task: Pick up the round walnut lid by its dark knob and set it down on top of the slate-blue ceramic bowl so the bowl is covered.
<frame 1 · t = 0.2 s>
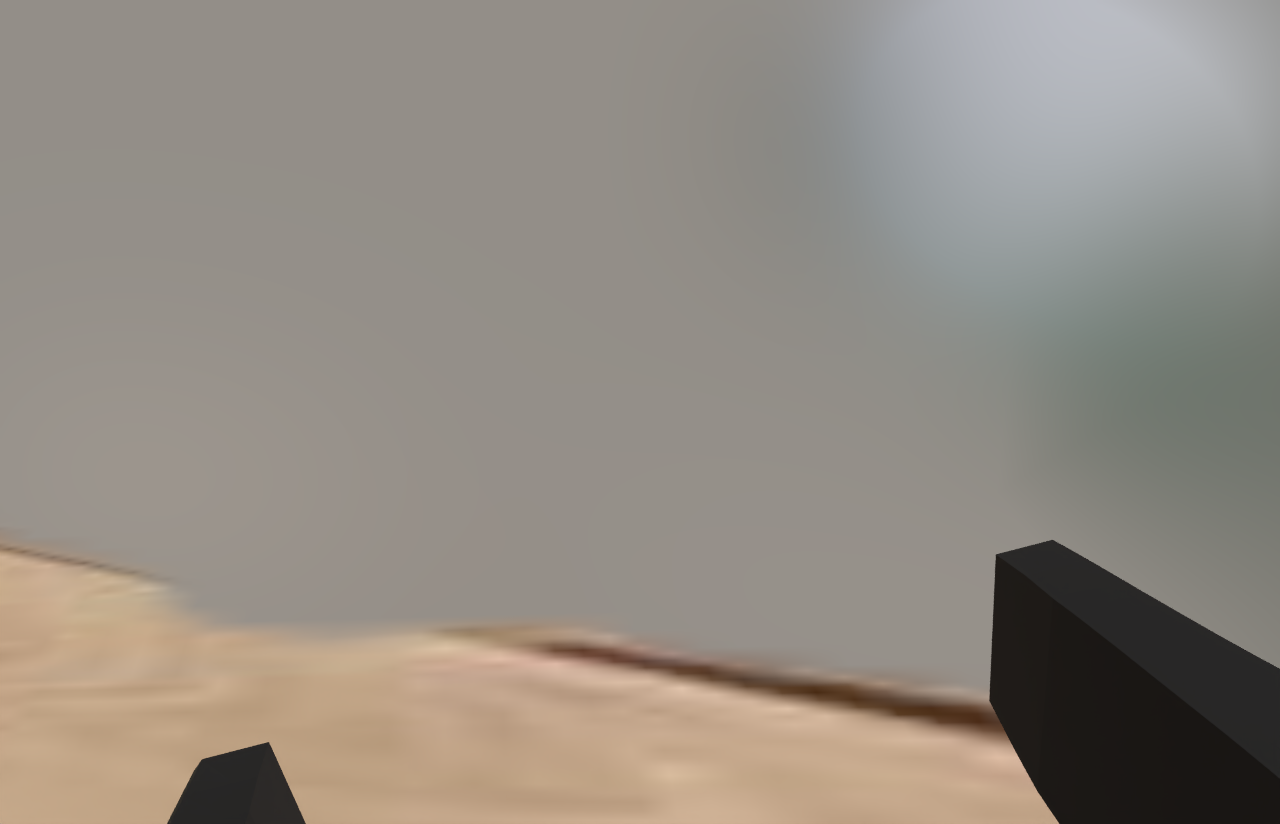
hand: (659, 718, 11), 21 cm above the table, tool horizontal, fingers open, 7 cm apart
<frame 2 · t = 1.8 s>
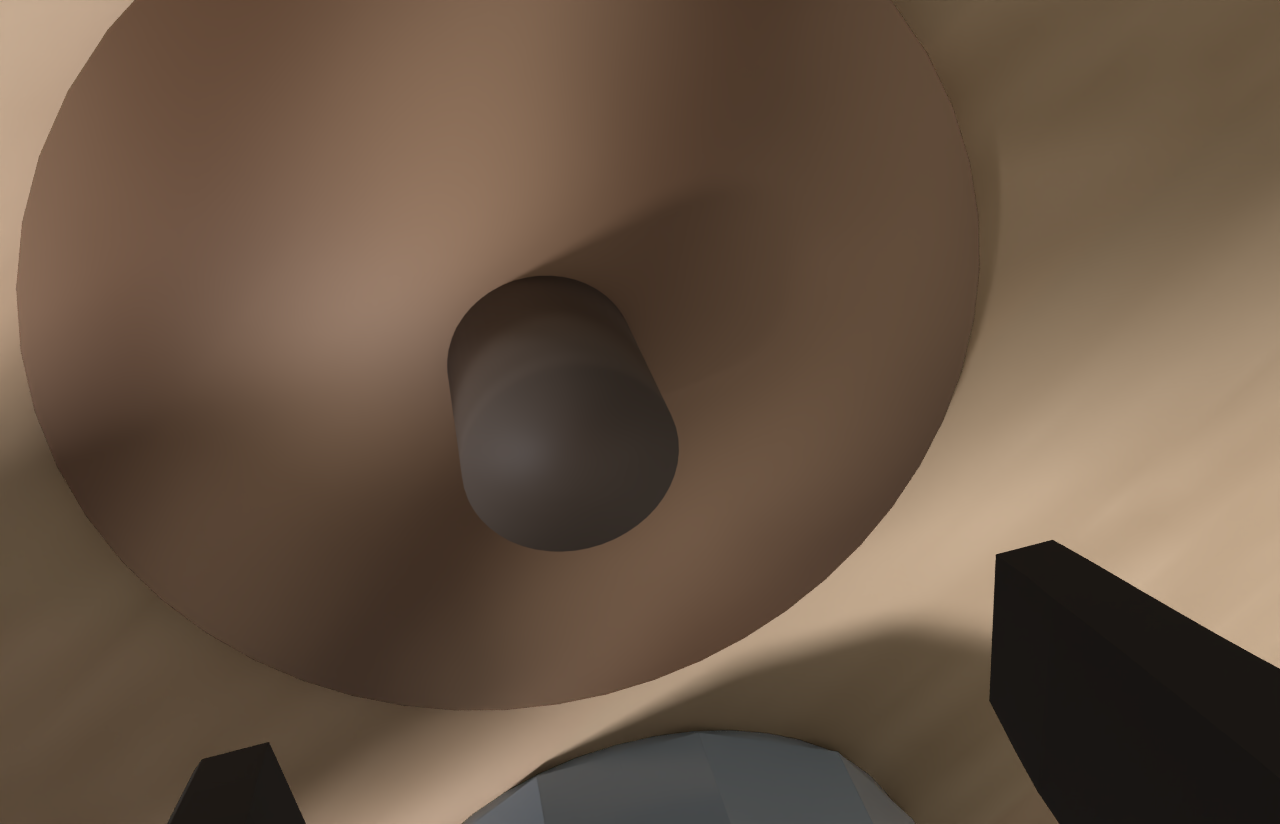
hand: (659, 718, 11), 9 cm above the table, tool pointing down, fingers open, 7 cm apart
lid: (533, 335, 18), on the table
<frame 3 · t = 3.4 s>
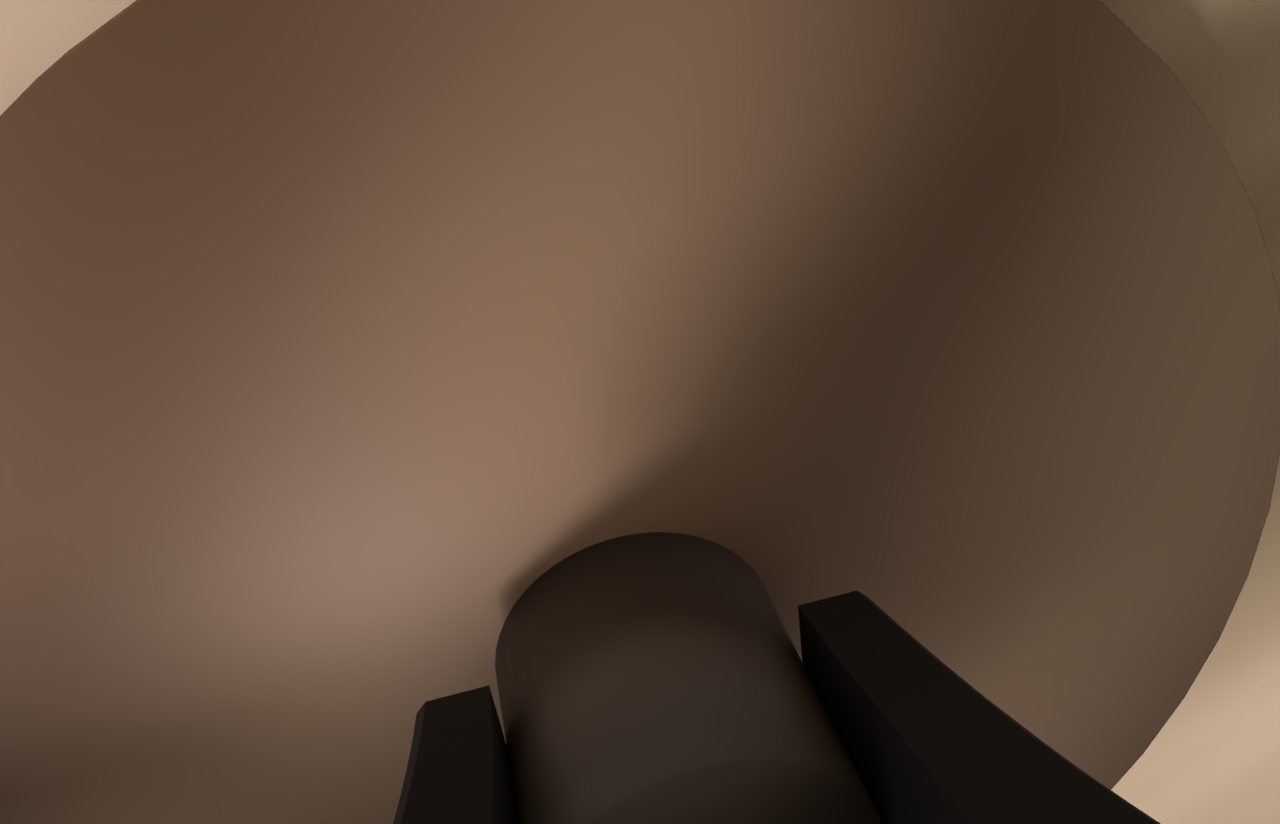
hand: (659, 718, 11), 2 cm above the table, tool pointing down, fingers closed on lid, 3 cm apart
lid: (618, 589, 12), on the table, touching gripper
when the fingers open (8 cm above the table, at t = 6.4 s): lid drops 1 cm, resting on bowl.
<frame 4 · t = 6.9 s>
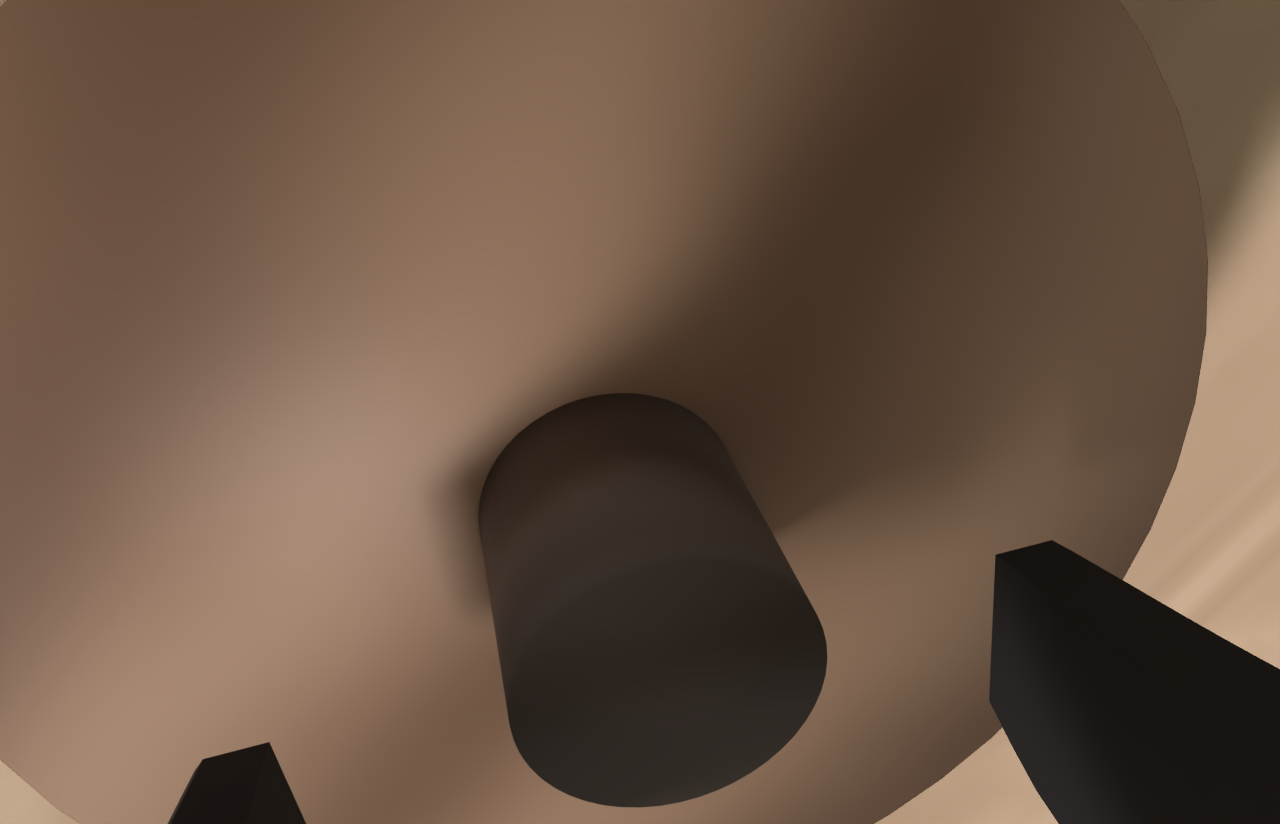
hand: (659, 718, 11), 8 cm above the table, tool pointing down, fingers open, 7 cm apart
lid: (594, 462, 13), point 5 cm above the table, touching bowl
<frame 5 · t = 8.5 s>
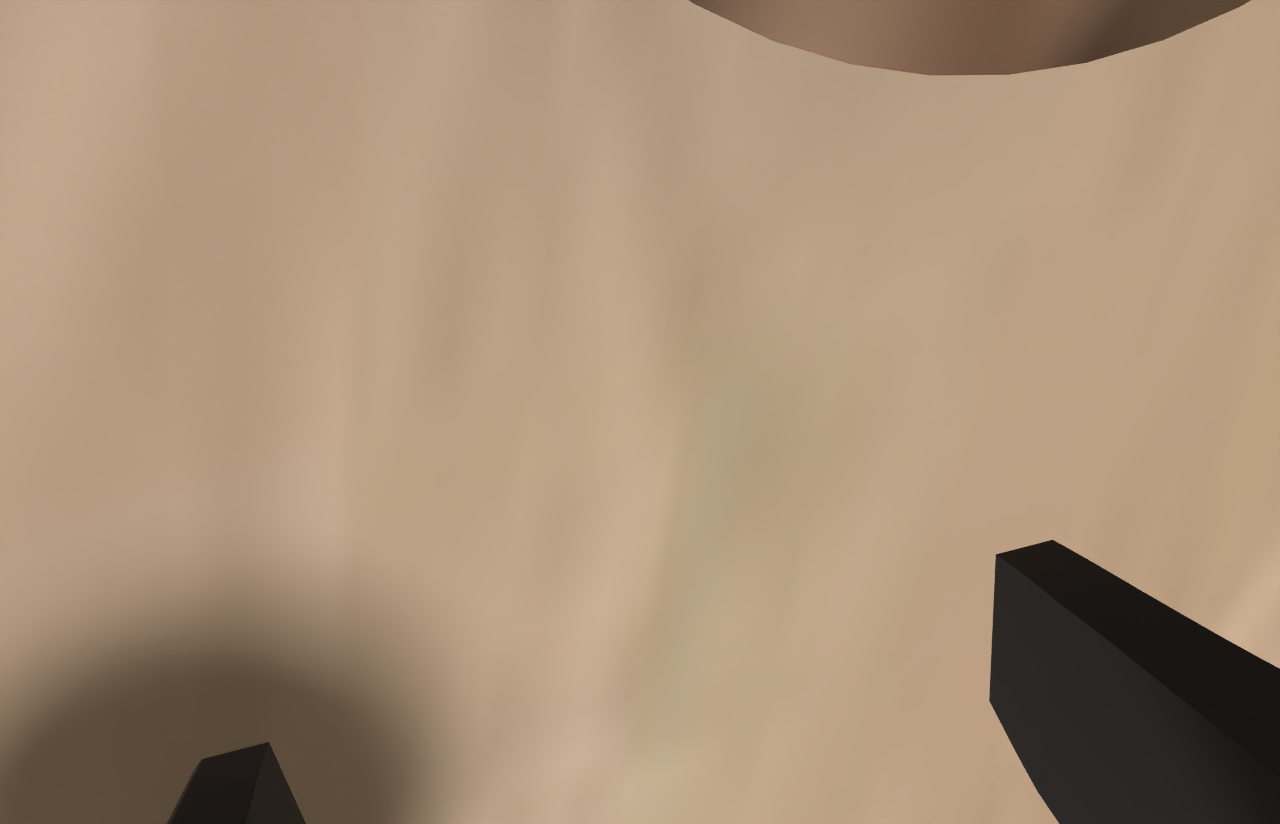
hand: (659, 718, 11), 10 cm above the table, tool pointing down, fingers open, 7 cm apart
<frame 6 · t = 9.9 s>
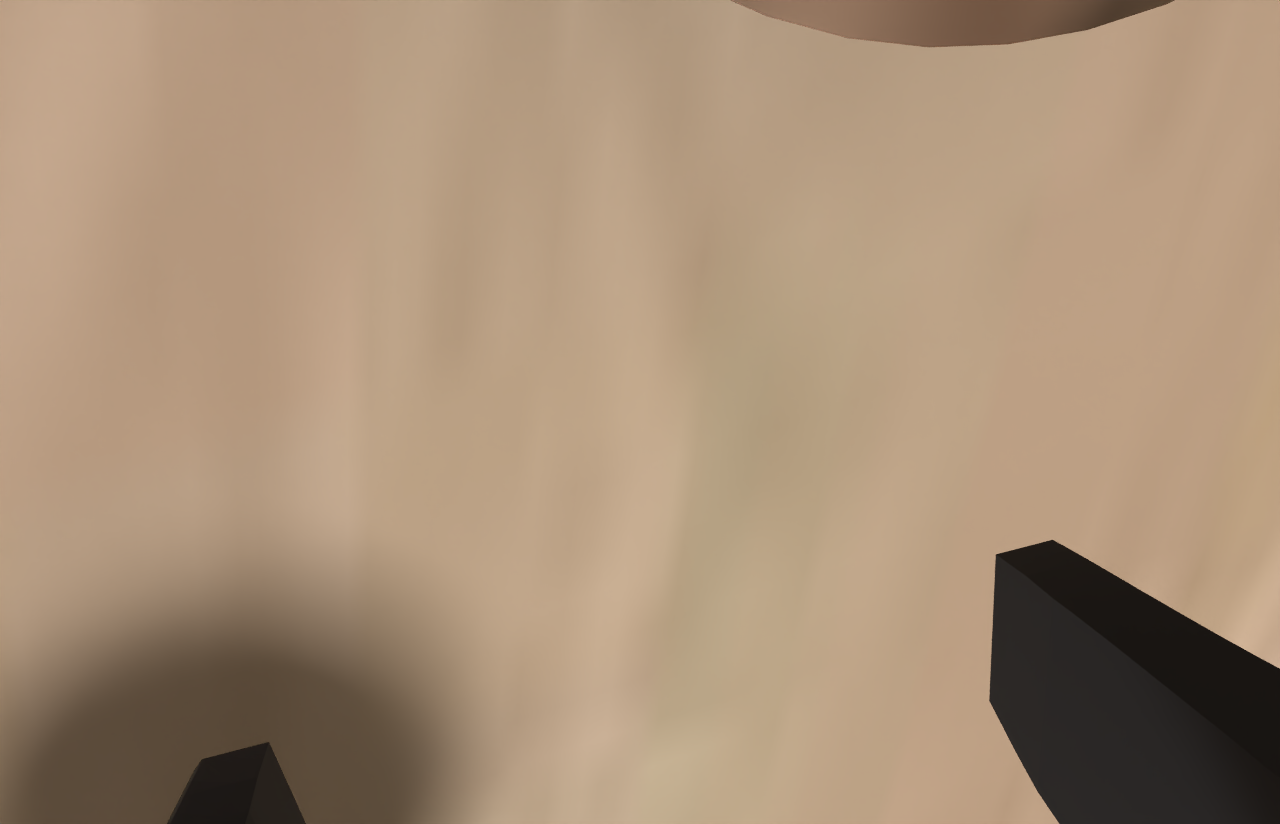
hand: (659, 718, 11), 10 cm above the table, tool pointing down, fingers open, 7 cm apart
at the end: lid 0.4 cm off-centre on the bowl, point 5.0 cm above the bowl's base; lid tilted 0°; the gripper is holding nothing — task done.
